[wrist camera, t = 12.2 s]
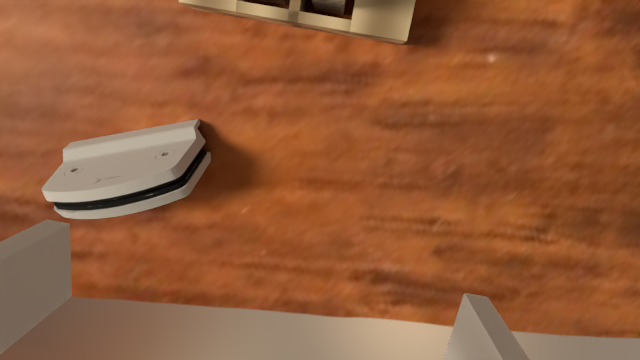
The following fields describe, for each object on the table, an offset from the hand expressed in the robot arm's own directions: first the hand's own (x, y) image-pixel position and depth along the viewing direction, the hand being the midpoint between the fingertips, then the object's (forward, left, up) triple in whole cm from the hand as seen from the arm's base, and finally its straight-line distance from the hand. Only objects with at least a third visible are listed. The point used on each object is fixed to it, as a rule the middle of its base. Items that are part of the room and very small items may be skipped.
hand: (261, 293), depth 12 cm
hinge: (+20, +6, -31) cm, 37 cm away
